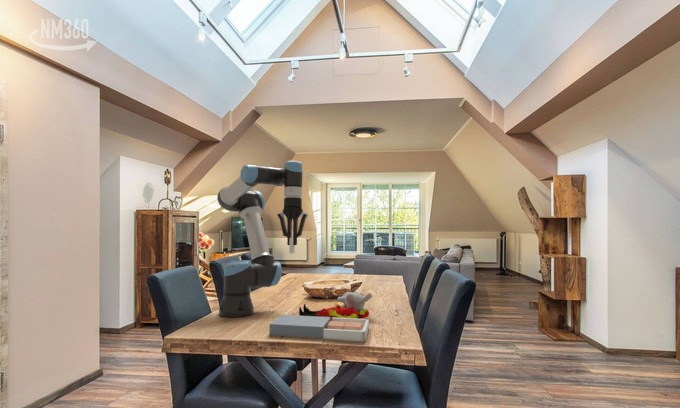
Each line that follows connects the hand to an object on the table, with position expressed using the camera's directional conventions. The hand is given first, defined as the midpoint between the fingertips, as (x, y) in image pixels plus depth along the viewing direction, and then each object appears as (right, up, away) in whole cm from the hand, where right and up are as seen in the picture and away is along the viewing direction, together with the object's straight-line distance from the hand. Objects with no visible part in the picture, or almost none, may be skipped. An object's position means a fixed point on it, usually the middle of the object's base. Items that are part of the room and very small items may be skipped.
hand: (292, 253), depth 152 cm
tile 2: (+25, -24, -19) cm, 39 cm away
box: (+23, -27, -19) cm, 40 cm away
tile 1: (+19, -27, -18) cm, 38 cm away
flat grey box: (+6, -27, -16) cm, 32 cm away
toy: (+27, -30, +16) cm, 43 cm away
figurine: (+18, -29, +4) cm, 35 cm away
